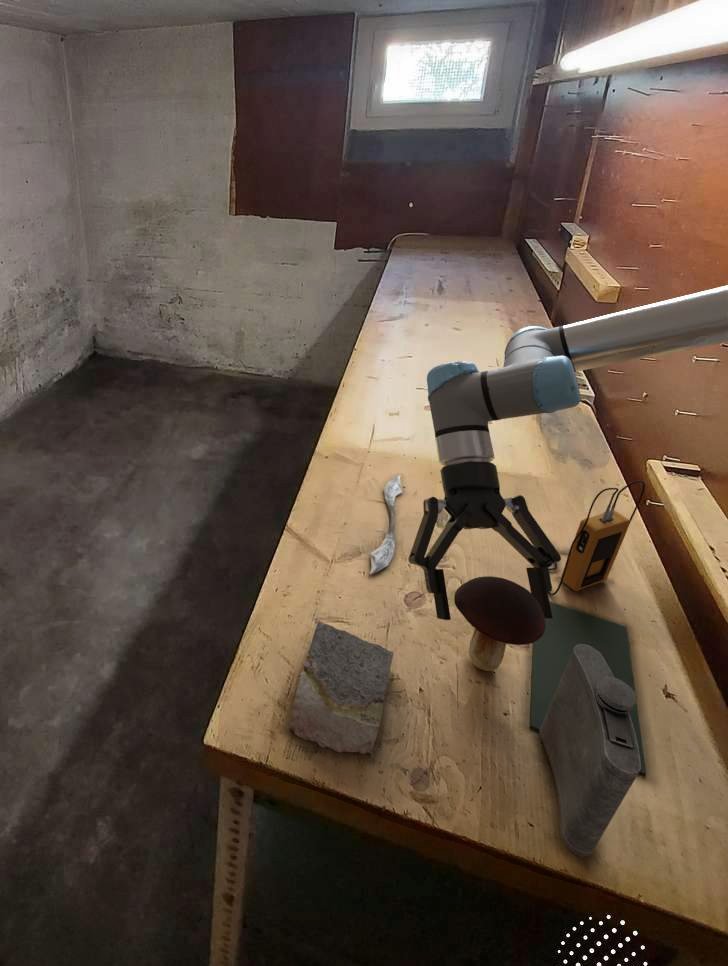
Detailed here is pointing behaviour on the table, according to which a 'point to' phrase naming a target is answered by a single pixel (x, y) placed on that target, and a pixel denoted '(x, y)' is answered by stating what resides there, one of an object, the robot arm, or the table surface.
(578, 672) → the flask
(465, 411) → the robot arm
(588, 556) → the multimeter
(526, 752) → the table surface
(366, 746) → the geological specimen
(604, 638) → the mat
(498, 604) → the decorative mushroom
